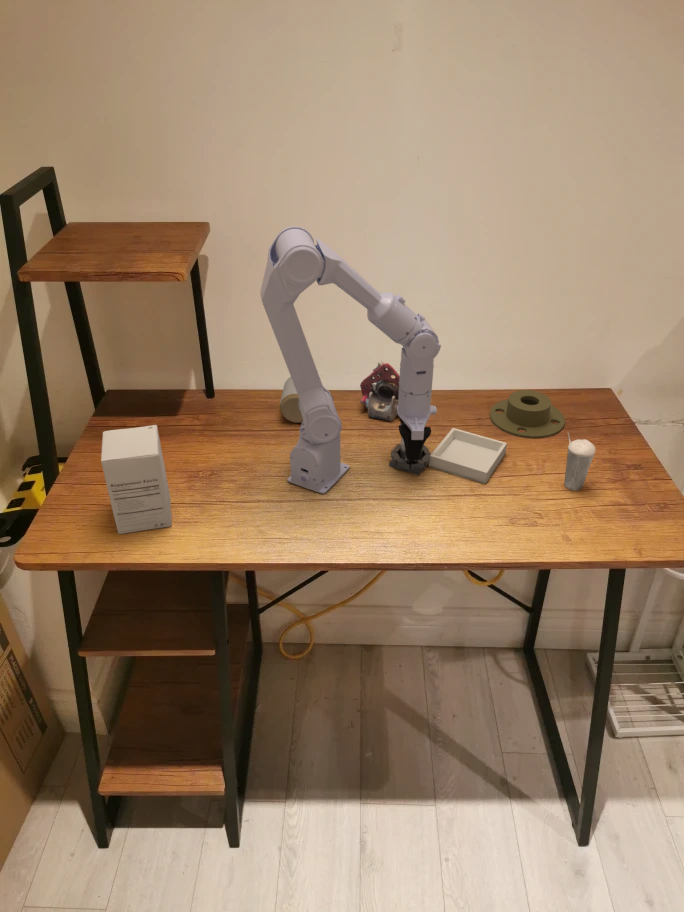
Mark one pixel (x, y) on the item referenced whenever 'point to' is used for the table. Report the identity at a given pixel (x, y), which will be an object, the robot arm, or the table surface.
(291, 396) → the ceramic mug
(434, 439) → the table surface
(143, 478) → the supplement box
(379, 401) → the brake caliper
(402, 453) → the silver cylinder with bar
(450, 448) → the bin
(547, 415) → the flange
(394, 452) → the stud mount
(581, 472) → the milkshake
